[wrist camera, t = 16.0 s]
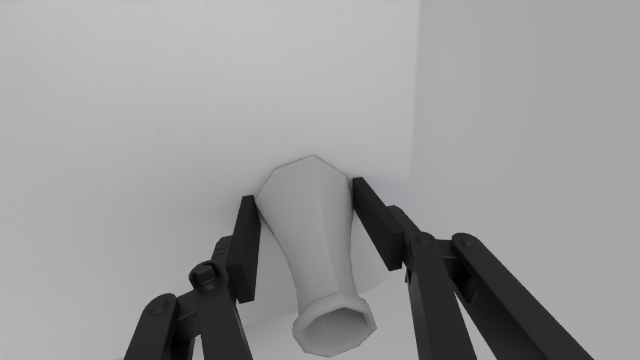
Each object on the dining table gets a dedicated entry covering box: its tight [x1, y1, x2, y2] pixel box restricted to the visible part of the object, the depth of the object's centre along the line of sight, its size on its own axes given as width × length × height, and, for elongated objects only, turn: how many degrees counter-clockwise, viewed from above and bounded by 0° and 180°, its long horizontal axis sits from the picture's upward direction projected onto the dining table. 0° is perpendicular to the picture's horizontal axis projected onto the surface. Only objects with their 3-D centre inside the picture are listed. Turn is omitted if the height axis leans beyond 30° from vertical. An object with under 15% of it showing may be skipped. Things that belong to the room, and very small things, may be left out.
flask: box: [255, 155, 377, 357], centre depth 13 cm, size 7×7×10 cm
